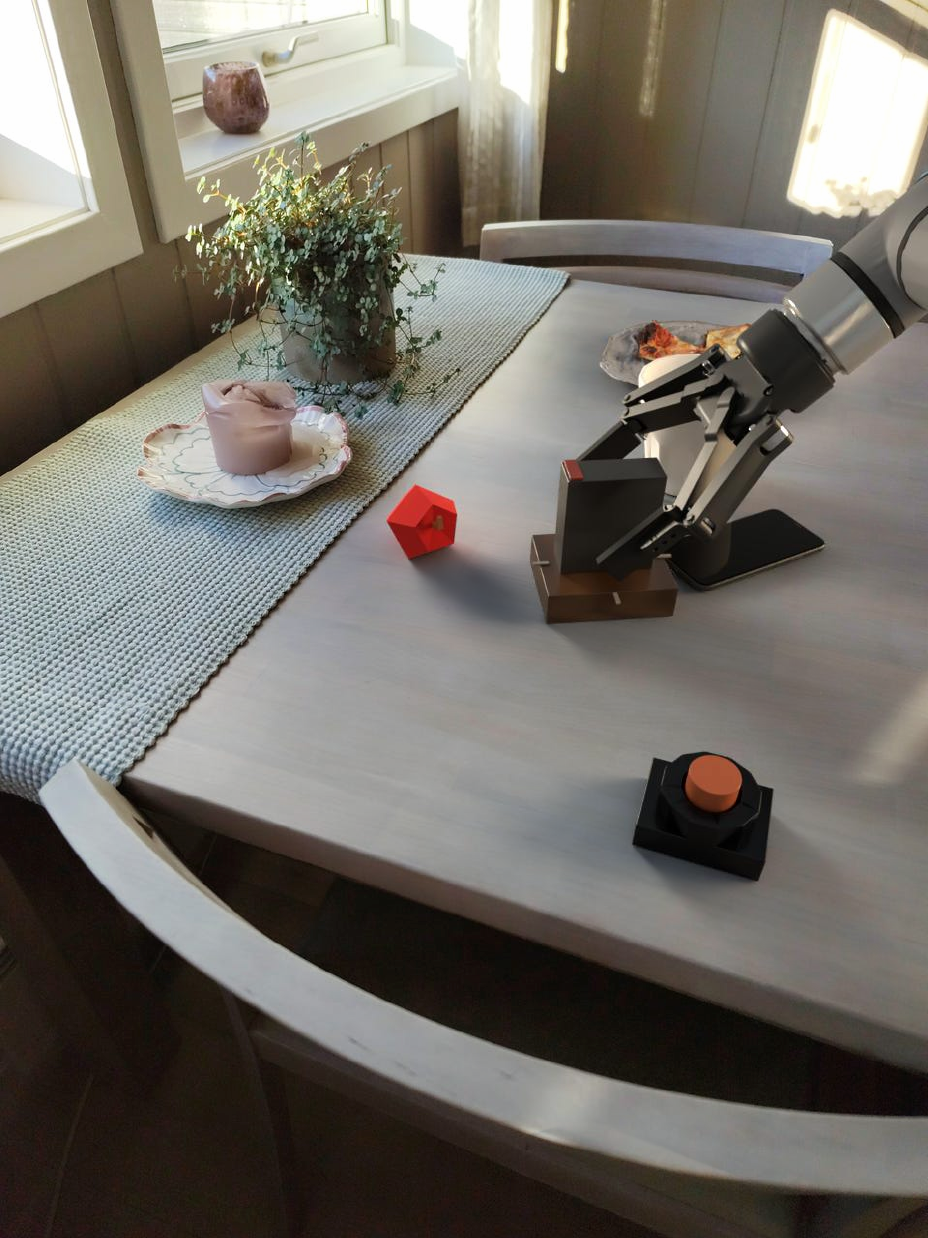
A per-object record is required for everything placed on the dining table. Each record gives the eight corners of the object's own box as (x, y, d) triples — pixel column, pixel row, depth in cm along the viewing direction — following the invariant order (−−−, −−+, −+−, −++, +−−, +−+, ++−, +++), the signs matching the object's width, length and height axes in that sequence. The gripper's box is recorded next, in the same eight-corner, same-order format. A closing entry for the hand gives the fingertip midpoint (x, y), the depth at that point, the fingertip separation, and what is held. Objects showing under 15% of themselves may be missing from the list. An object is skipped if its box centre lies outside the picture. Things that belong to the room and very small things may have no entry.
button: (738, 780, 56) (744, 762, 55) (733, 818, 53) (738, 801, 52) (688, 767, 57) (693, 749, 56) (681, 804, 54) (685, 786, 53)
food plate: (617, 326, 124) (619, 302, 121) (786, 344, 119) (792, 318, 116) (588, 402, 105) (591, 375, 103) (787, 426, 100) (795, 398, 98)
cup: (607, 456, 95) (619, 360, 88) (711, 442, 97) (730, 347, 90) (654, 516, 86) (672, 414, 79) (767, 500, 88) (794, 399, 81)
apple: (371, 480, 81) (404, 491, 74) (437, 477, 84) (474, 487, 77) (372, 553, 83) (404, 570, 76) (436, 547, 86) (473, 563, 79)
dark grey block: (642, 546, 77) (657, 454, 71) (651, 568, 74) (668, 474, 68) (553, 551, 76) (561, 458, 70) (560, 573, 74) (568, 479, 68)
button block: (766, 808, 59) (780, 770, 56) (758, 882, 54) (772, 844, 52) (648, 777, 61) (657, 738, 58) (631, 846, 56) (639, 807, 54)
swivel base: (647, 544, 82) (652, 516, 80) (685, 627, 73) (691, 598, 71) (520, 551, 81) (522, 523, 79) (542, 636, 72) (544, 607, 70)
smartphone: (701, 596, 76) (829, 550, 81) (702, 588, 76) (831, 543, 81) (650, 552, 81) (774, 512, 86) (652, 545, 81) (776, 505, 86)
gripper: (912, 456, 57) (655, 642, 65) (773, 313, 75) (588, 471, 84) (858, 383, 53) (592, 591, 61) (726, 252, 72) (537, 424, 80)
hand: (589, 522), depth 73 cm, fingers open, 13 cm apart
